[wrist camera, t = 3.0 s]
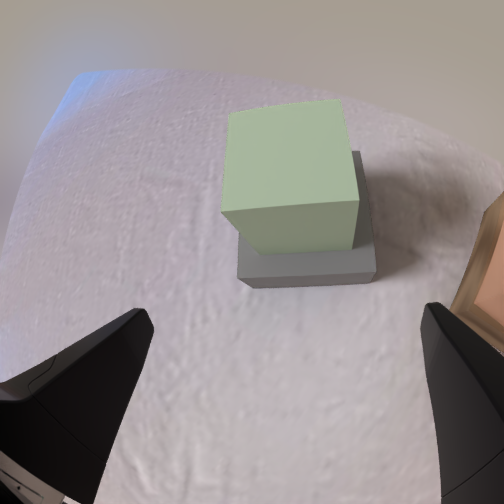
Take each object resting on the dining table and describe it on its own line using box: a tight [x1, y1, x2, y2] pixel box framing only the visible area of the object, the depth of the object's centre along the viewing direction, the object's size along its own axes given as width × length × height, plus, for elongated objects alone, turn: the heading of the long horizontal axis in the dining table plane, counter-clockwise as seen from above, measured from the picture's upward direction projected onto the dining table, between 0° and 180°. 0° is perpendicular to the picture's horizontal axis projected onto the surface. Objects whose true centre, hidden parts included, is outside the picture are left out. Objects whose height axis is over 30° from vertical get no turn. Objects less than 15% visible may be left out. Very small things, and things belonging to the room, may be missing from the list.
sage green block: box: [221, 99, 359, 255], centre depth 16 cm, size 6×6×7 cm
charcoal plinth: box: [237, 151, 377, 288], centre depth 21 cm, size 9×9×4 cm
